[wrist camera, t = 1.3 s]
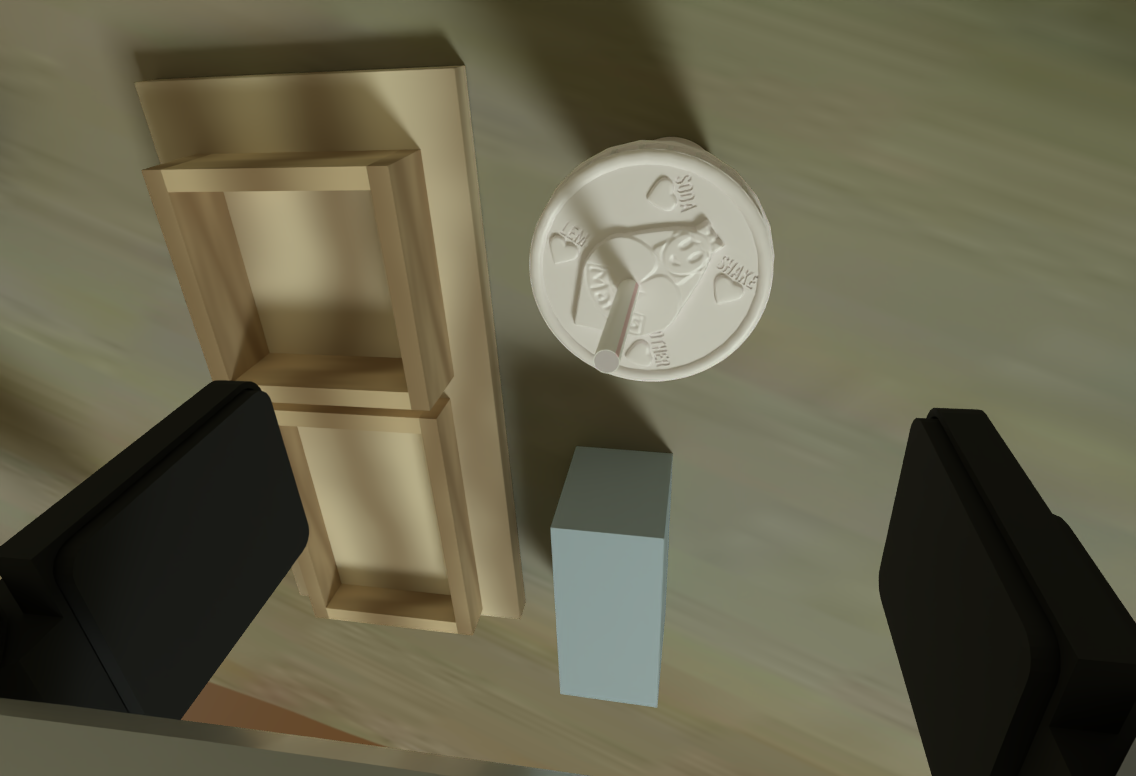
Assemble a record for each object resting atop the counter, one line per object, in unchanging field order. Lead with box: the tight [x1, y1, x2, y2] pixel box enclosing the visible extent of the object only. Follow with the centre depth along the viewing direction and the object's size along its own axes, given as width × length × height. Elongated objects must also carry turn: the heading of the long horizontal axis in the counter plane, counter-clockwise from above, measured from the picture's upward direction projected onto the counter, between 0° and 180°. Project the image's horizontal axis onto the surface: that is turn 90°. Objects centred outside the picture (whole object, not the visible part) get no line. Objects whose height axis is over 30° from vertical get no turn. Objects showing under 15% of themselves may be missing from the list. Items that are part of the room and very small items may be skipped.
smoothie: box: [529, 137, 774, 382], centre depth 20 cm, size 6×6×14 cm
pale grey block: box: [551, 446, 673, 707], centre depth 32 cm, size 4×10×6 cm, turn 2°
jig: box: [135, 65, 526, 635], centre depth 31 cm, size 13×27×4 cm, turn 3°
